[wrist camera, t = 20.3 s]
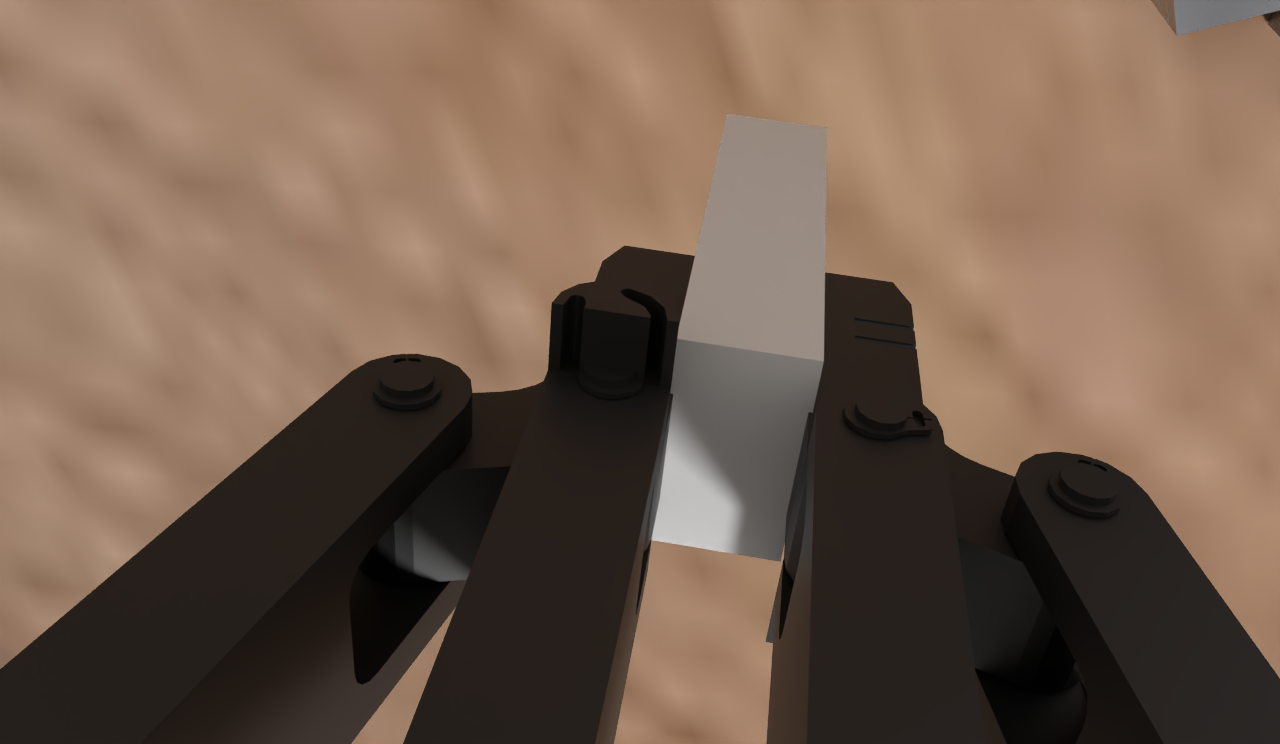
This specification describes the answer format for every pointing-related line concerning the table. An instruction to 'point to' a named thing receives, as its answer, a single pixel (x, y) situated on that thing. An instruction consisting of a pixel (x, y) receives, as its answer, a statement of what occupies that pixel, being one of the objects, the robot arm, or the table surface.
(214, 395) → the table surface
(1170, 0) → the dark grey blocks
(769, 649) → the table surface
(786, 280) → the robot arm
